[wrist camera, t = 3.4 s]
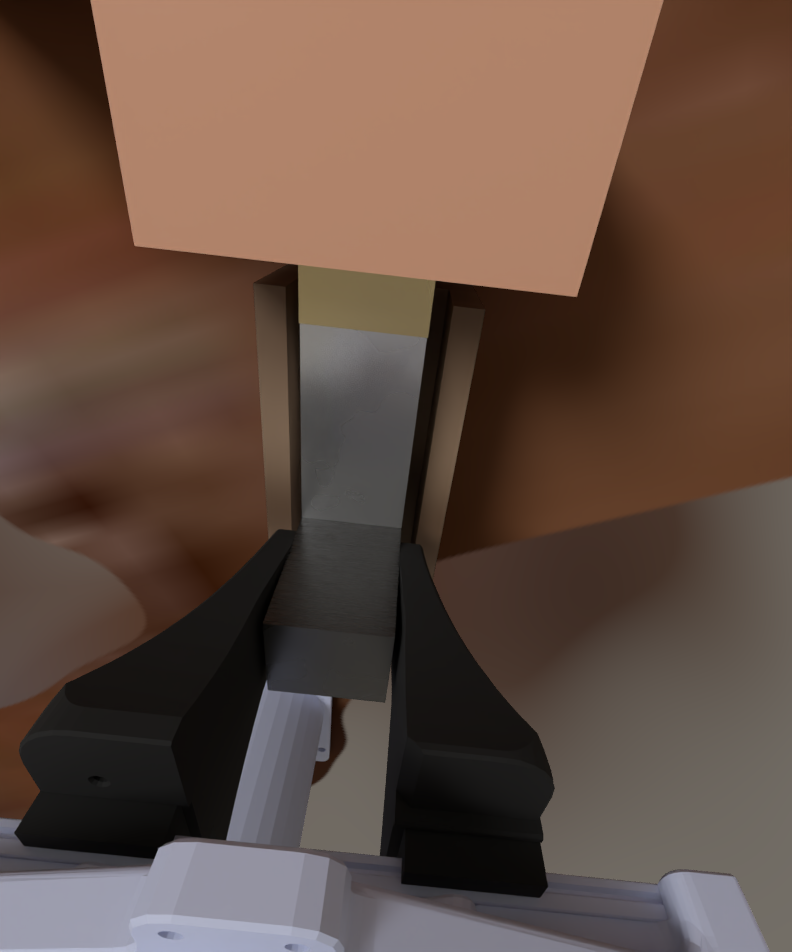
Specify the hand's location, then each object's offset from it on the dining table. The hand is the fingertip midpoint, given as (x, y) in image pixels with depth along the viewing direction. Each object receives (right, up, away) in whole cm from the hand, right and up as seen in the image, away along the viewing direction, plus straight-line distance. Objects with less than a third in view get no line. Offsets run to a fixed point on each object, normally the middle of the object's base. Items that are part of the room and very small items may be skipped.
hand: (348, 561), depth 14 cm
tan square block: (+1, +12, 0) cm, 12 cm away
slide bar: (0, +3, +2) cm, 4 cm away
